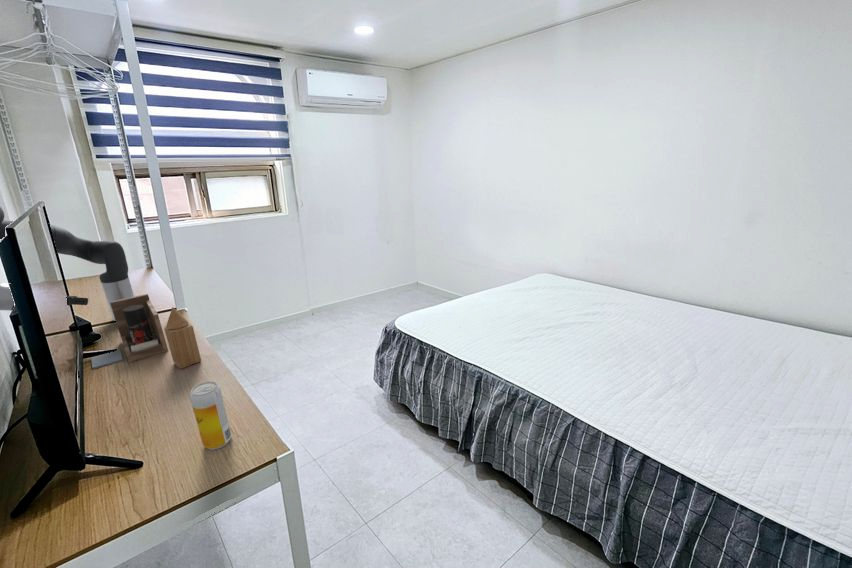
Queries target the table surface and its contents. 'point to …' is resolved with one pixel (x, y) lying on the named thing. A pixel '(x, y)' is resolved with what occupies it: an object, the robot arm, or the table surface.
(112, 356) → the mat
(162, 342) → the box
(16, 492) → the table surface
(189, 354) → the decorative item
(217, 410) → the beer can
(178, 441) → the table surface
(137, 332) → the deodorant
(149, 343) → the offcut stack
